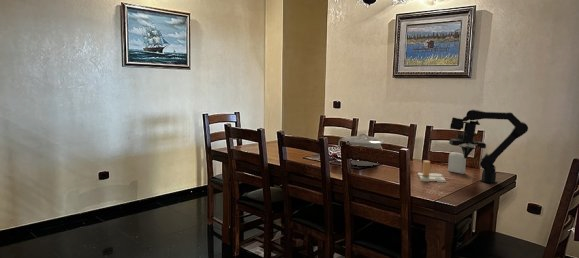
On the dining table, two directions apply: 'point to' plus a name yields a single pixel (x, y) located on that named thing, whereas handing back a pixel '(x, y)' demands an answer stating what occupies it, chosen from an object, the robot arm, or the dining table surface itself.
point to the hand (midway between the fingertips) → (465, 158)
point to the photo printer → (456, 163)
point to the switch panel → (431, 177)
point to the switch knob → (426, 168)
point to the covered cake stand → (363, 141)
